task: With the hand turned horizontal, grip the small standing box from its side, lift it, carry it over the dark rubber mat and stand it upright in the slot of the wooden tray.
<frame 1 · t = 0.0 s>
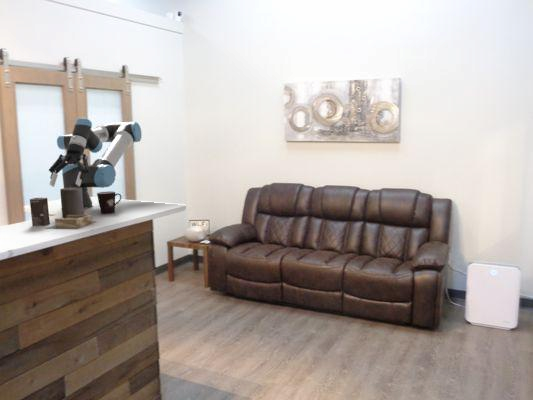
hand: (64, 185, 234), 15 cm above the table, tool tilted 35°, fingers open, 13 cm apart
wooden tray: (71, 224, 216), resting on mat
coffee mug: (111, 212, 246), on the table
box: (41, 226, 219), on the table
mat: (72, 225, 216), on the table
pillar candle: (73, 217, 236), on the table
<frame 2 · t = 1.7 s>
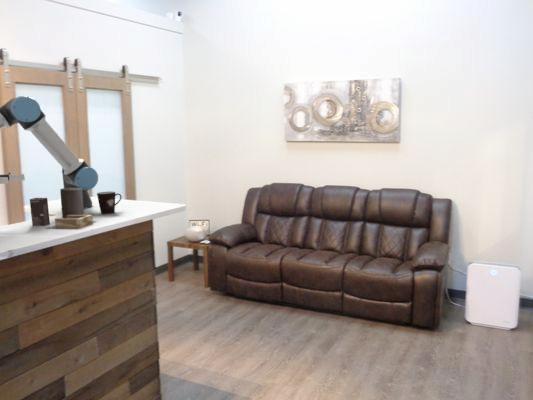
hand: (16, 178, 216), 21 cm above the table, tool horizontal, fingers open, 13 cm apart
nothing on the table moved.
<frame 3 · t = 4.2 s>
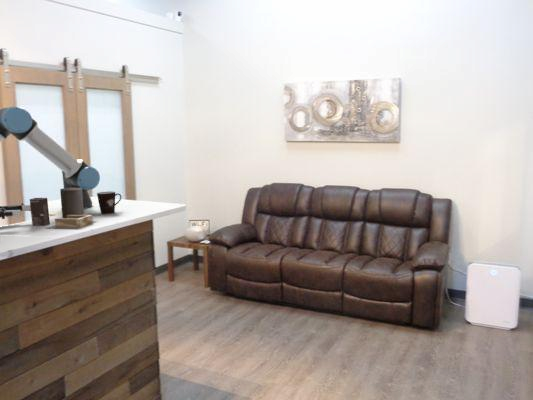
hand: (29, 210, 217), 7 cm above the table, tool horizontal, fingers open, 13 cm apart
nothing on the table moved.
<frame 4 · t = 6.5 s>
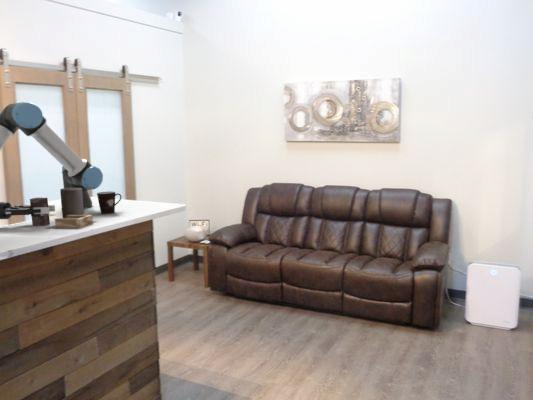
hand: (51, 209, 218), 7 cm above the table, tool horizontal, fingers closed on box, 5 cm apart
box: (41, 225, 219), on the table, touching gripper
everything else where it was.
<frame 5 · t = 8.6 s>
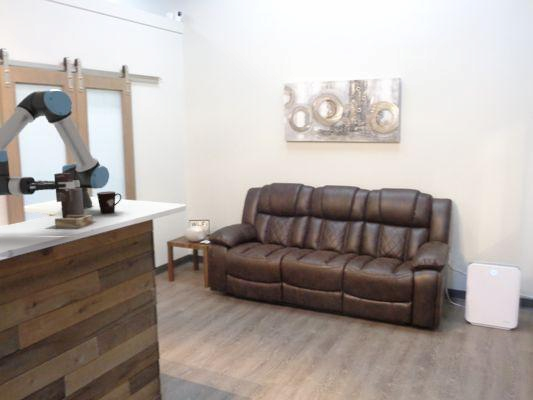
hand: (76, 184, 212), 18 cm above the table, tool horizontal, fingers closed on box, 4 cm apart
box: (65, 201, 214), point 11 cm above the table, touching gripper
everything else where it was.
when the fingers open (9 cm above the table, at t = 10.7 s): box drops 1 cm, resting on mat.
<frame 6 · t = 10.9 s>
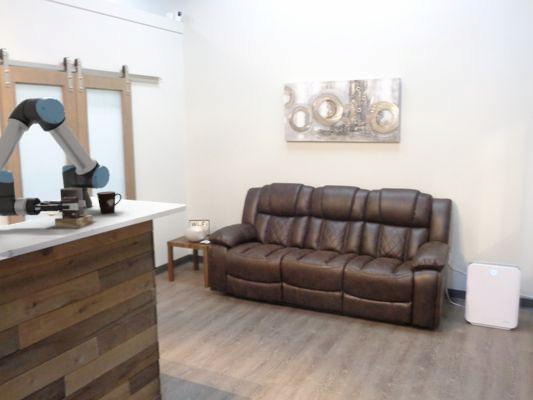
hand: (81, 205, 214), 9 cm above the table, tool horizontal, fingers open, 7 cm apart
box: (71, 225, 215), resting on mat
everything else where it was.
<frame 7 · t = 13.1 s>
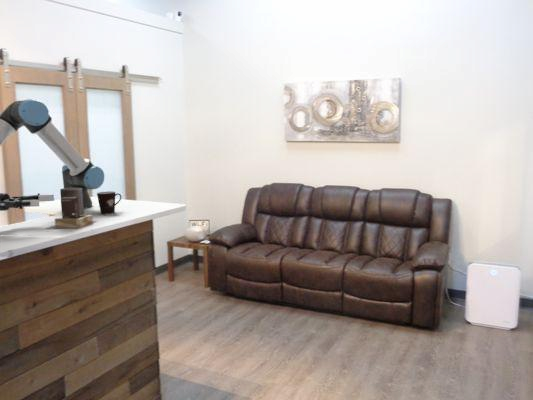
hand: (46, 200, 214), 11 cm above the table, tool horizontal, fingers open, 13 cm apart
nothing on the table moved.
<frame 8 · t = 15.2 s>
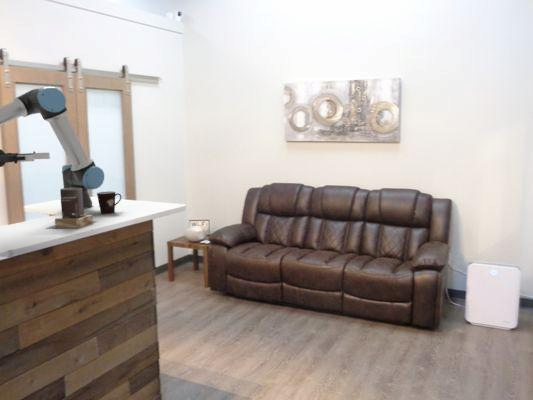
hand: (41, 156, 212), 30 cm above the table, tool horizontal, fingers open, 13 cm apart
nothing on the table moved.
at the end: box inside the target area on the wooden tray (0.3 cm from its centre), point 0.0 cm above the wooden tray's base; box tilted 0°; the gripper is holding nothing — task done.
